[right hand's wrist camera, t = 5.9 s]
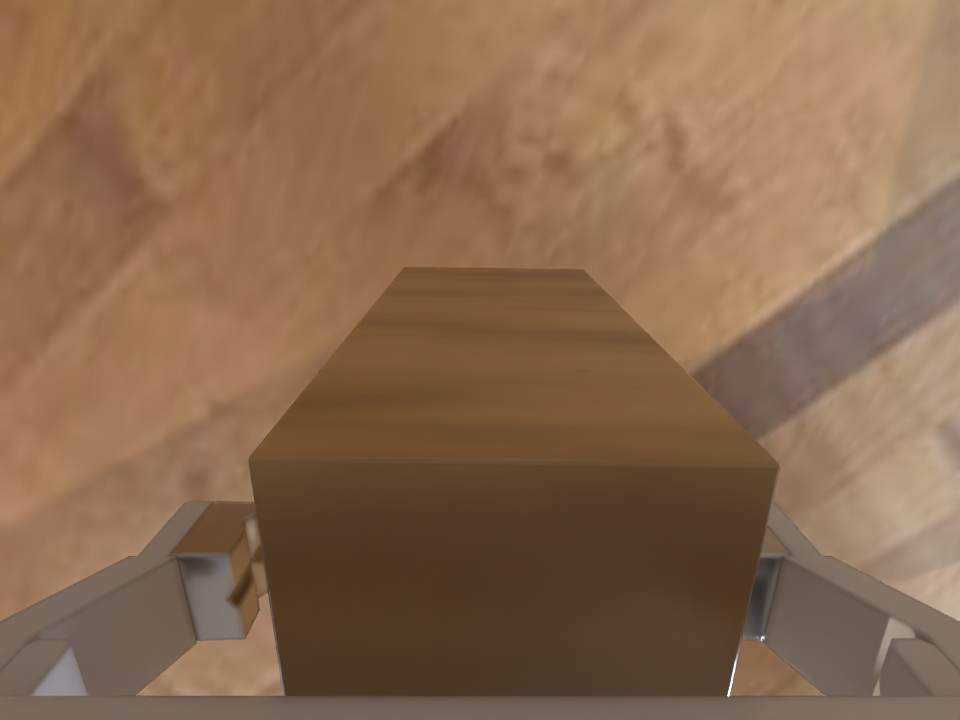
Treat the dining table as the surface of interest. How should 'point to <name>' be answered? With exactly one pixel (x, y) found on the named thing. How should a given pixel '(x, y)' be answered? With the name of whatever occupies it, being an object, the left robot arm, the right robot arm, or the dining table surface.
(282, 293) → the dining table surface
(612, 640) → the box
